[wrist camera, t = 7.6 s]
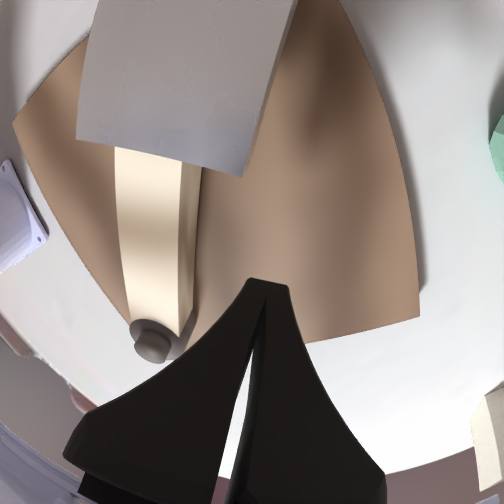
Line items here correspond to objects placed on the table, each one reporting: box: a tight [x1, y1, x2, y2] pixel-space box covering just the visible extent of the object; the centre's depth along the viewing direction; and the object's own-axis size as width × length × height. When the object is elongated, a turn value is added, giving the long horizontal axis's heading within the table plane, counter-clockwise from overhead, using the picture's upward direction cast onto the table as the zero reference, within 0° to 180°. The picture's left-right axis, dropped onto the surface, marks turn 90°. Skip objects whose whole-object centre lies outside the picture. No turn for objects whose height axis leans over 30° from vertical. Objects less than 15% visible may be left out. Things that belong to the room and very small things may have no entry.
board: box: [12, 0, 420, 360], centre depth 14 cm, size 20×22×2 cm
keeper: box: [76, 0, 298, 177], centre depth 8 cm, size 8×6×5 cm
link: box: [115, 147, 202, 364], centre depth 13 cm, size 16×4×4 cm, turn 171°
